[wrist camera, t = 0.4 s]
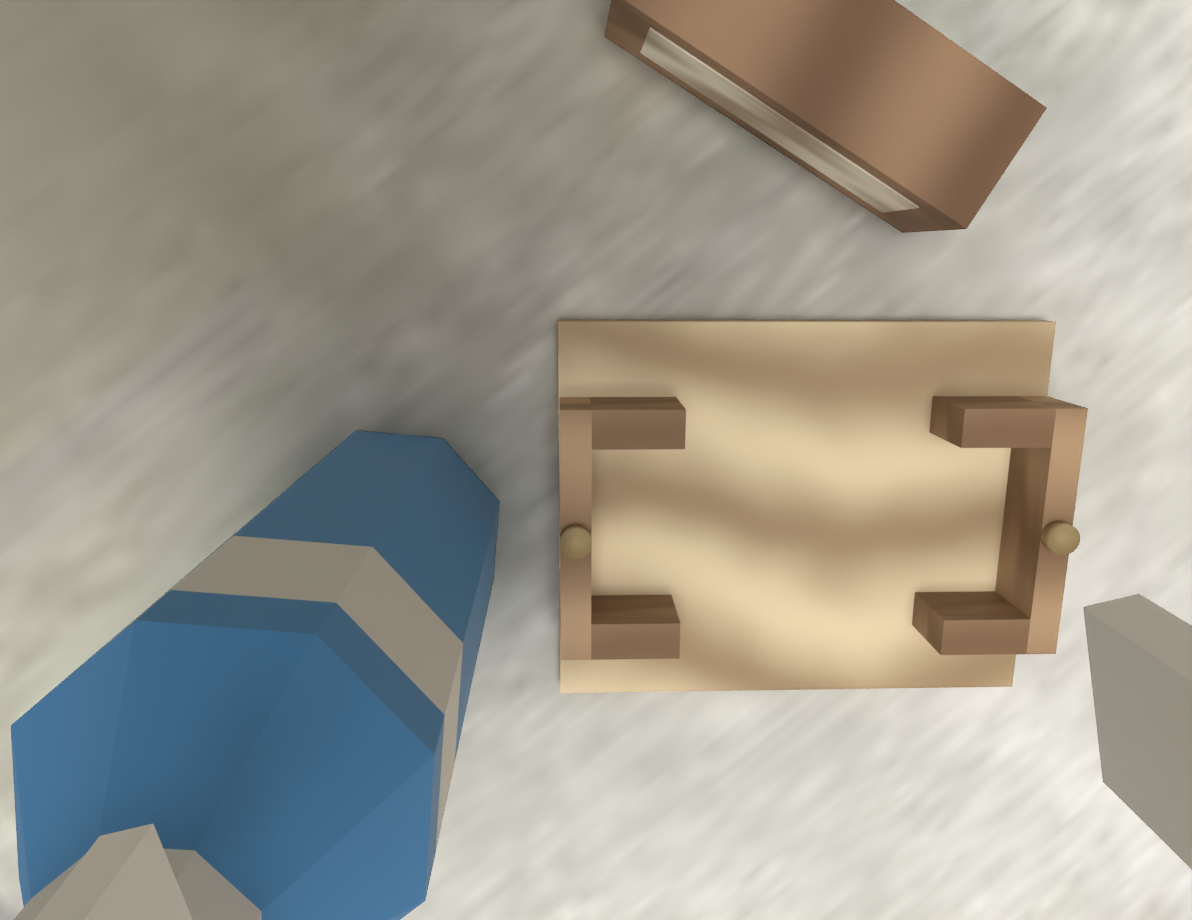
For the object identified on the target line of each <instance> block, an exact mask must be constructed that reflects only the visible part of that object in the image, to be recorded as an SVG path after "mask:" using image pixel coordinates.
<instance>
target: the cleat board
mask: <svg viewBox="0 0 1192 920" xmlns="http://www.w3.org/2000/svg"><path fill="white" fill-rule="evenodd" d="M1055 324H1056V322H1051V321H1044V320H558V419H559V571H560V693H590V692H660V691H730V690H800V689H870V688H940V687H1010V686H1012V682H1013V674H1014V666H1015V657H1016V654H1056V647H1057V639H1058V632H1059V624H1060V616H1061V609H1062V601H1063V594H1064V586H1065V578H1066V571H1067V563H1068V555H1069V553H1071V552H1073V551H1074V550H1075V549H1076V548H1077V546H1078V545H1079V542H1080V534H1079V532H1078V530H1077V529H1076V528H1074V527H1073V526H1072V525H1073V517H1074V510H1075V502H1076V495H1077V487H1078V479H1079V472H1080V464H1081V456H1082V449H1083V441H1084V434H1085V426H1086V418H1087V411H1088V408H1084V407H1081V406H1078V405H1074V404H1071V403H1067V402H1064V401H1061V400H1057V399H1054V398H1051V397H1047V391H1048V383H1049V374H1050V366H1051V358H1052V349H1053V341H1054V333H1055Z"/></svg>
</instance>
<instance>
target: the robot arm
mask: <svg viewBox="0 0 1192 920" xmlns="http://www.w3.org/2000/svg"><path fill="white" fill-rule="evenodd" d="M1083 608H1084V617H1085V626H1086V635H1087V643H1088V652H1089V661H1090V670H1091V679H1092V688H1093V697H1094V706H1095V715H1096V724H1097V733H1098V742H1099V751H1100V760H1101V769H1102V778H1103V782H1104V783H1105V784H1106V785H1107V786H1108V787H1109V788H1110V789H1111V790H1112V791H1113V792H1114V793H1115V794H1116V795H1117V796H1118V797H1119V798H1120V799H1121V800H1122V801H1123V802H1124V803H1125V804H1126V805H1127V806H1128V807H1129V808H1130V809H1131V810H1132V811H1133V812H1134V813H1135V814H1136V815H1137V816H1138V817H1139V818H1140V819H1141V820H1142V821H1143V822H1144V823H1145V824H1146V825H1147V826H1148V827H1150V828H1151V829H1152V830H1153V831H1154V832H1155V833H1156V834H1157V835H1158V836H1159V837H1160V838H1161V839H1162V840H1163V841H1164V842H1165V843H1166V844H1167V845H1168V846H1169V847H1170V848H1171V849H1172V850H1173V851H1174V852H1175V853H1176V854H1177V855H1178V856H1179V857H1180V858H1181V859H1182V860H1183V861H1184V862H1185V863H1186V864H1187V865H1188V866H1189V867H1190V868H1191V869H1192V626H1191V625H1190V624H1188V623H1186V622H1185V621H1183V620H1181V619H1180V618H1178V617H1176V616H1175V615H1173V614H1171V613H1170V612H1168V611H1166V610H1165V609H1163V608H1161V607H1160V606H1158V605H1156V604H1155V603H1153V602H1151V601H1150V600H1148V599H1146V598H1145V597H1143V596H1141V595H1140V594H1137V595H1133V596H1128V597H1124V598H1120V599H1115V600H1111V601H1107V602H1103V603H1098V604H1094V605H1090V606H1085V607H1083ZM34 920H193V919H192V917H191V915H190V912H189V910H188V907H187V905H186V902H185V900H184V897H183V895H182V893H181V890H180V888H179V885H178V883H177V880H176V878H175V875H174V873H173V871H172V868H171V866H170V863H169V861H168V858H167V856H166V854H165V851H164V849H163V846H162V844H161V841H160V839H159V836H158V834H157V832H156V829H155V827H154V824H149V825H144V826H140V827H136V828H131V829H127V830H123V831H119V832H114V833H110V834H106V835H101V836H100V837H99V838H98V839H97V840H96V842H95V843H94V844H93V845H92V847H91V848H90V849H89V851H88V852H87V853H86V854H85V856H84V857H83V858H82V859H81V861H80V862H79V863H78V865H77V866H76V867H75V868H74V870H73V871H72V872H71V873H70V875H69V876H68V877H67V878H66V880H65V881H64V882H63V884H62V885H61V886H60V887H59V889H58V890H57V891H56V892H55V894H54V895H53V896H52V898H51V899H50V900H49V901H48V903H47V904H46V905H45V906H44V908H43V909H42V910H41V912H40V913H39V914H38V915H37V917H36V918H35V919H34Z"/></svg>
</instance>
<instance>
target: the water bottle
mask: <svg viewBox="0 0 1192 920" xmlns="http://www.w3.org/2000/svg"><path fill="white" fill-rule="evenodd" d="M498 513H499V501H498V500H497V498H496V497H495V496H494V495H493V494H492V493H491V492H490V491H489V489H488V488H487V487H486V486H485V485H484V484H483V483H482V482H481V480H480V479H479V478H478V477H477V476H476V475H475V474H474V473H473V471H472V470H471V469H470V468H469V467H468V466H467V465H466V464H465V462H464V461H463V460H462V459H461V458H460V457H459V456H458V455H457V453H456V452H455V451H454V450H453V449H452V448H451V447H450V446H449V444H448V443H447V442H446V441H445V440H444V439H443V438H435V437H424V436H412V435H401V434H390V433H378V432H367V431H355V432H354V433H353V434H352V435H350V436H349V437H348V438H347V439H346V440H344V441H343V442H342V443H341V444H340V445H339V446H337V447H336V448H335V449H334V450H333V451H331V452H330V453H329V454H328V455H327V456H326V457H324V458H323V459H322V460H321V461H320V462H318V463H317V464H316V465H315V466H314V467H313V468H311V469H310V470H309V471H308V472H307V473H306V474H304V475H303V476H302V477H301V478H300V479H298V480H297V481H296V482H295V483H294V484H293V485H291V486H290V487H289V488H288V489H287V490H286V491H284V492H283V493H282V494H281V495H280V496H279V497H277V498H276V499H275V500H274V501H273V502H272V503H270V504H269V505H268V506H267V507H266V508H265V509H263V510H262V511H261V512H260V513H259V514H257V515H256V516H255V517H254V518H253V519H252V520H250V521H249V522H248V523H247V524H246V525H245V526H243V527H242V528H241V529H240V530H239V531H238V532H236V533H235V534H234V535H233V536H232V537H231V538H229V539H228V540H227V541H226V542H225V543H224V544H222V545H221V546H220V547H219V548H218V549H217V550H215V551H214V552H213V553H212V554H211V555H210V556H208V557H207V558H206V559H205V560H204V561H203V562H201V563H200V564H199V565H198V566H197V567H196V568H194V569H193V570H192V571H191V572H190V573H189V574H187V575H186V576H185V577H184V578H183V579H182V580H180V581H179V582H178V583H177V584H176V585H175V586H173V587H172V588H171V589H170V590H169V591H168V592H166V593H165V594H164V595H163V596H162V597H161V598H159V599H158V600H157V601H156V602H155V603H154V604H152V605H151V606H150V607H149V608H148V609H147V610H145V611H144V612H143V613H142V614H141V615H140V616H138V617H137V618H136V619H135V620H134V621H133V622H131V623H130V624H129V625H128V626H127V627H125V628H124V629H123V630H122V631H121V632H120V633H118V634H117V635H116V636H115V637H114V638H113V639H111V640H110V641H109V642H108V643H107V644H106V645H104V646H103V647H102V648H101V649H100V650H99V651H97V652H96V653H95V654H94V655H93V656H92V657H90V658H89V659H88V660H87V661H86V662H85V663H83V664H82V665H81V666H80V667H79V668H78V669H76V670H75V671H74V672H73V673H72V674H71V675H69V676H68V677H67V678H66V679H65V680H64V681H62V682H61V683H60V684H59V685H58V686H57V687H55V688H54V689H53V690H52V691H51V692H50V693H48V694H47V695H46V696H45V697H44V698H43V699H41V700H40V701H39V702H38V703H37V704H36V705H34V706H33V707H32V708H31V709H30V710H29V711H27V712H26V713H25V714H24V715H23V716H22V717H20V718H19V719H18V720H17V721H16V722H15V723H13V724H12V725H11V739H12V757H13V776H14V794H15V813H16V831H17V850H18V868H19V880H20V886H21V892H22V898H23V905H24V908H23V909H22V910H21V912H20V913H19V914H18V915H17V916H16V918H15V919H14V920H34V919H35V918H36V917H37V915H38V914H39V913H40V912H41V910H42V909H43V908H44V906H45V905H46V904H47V903H48V901H49V900H50V899H51V898H52V896H53V895H54V894H55V892H56V891H57V890H58V889H59V887H60V886H61V885H62V884H63V882H64V881H65V880H66V878H67V877H68V876H69V875H70V873H71V872H72V871H73V870H74V868H75V867H76V866H77V865H78V863H79V862H80V861H81V859H82V858H83V857H84V856H85V854H86V853H87V852H88V851H89V849H90V848H91V847H92V845H93V844H94V843H95V842H96V840H97V839H98V838H99V837H100V836H101V835H106V834H110V833H114V832H119V831H123V830H127V829H131V828H136V827H140V826H144V825H149V824H154V827H155V829H156V832H157V834H158V836H159V839H160V841H161V844H162V846H163V849H164V851H165V854H166V856H167V858H168V861H169V863H170V866H171V868H172V871H173V873H174V875H175V878H176V880H177V883H178V885H179V888H180V890H181V893H182V895H183V897H184V900H185V902H186V905H187V907H188V910H189V912H190V915H191V917H192V919H193V920H400V919H401V918H403V917H404V916H405V915H407V914H408V913H409V912H411V911H412V910H413V909H415V908H416V907H417V906H419V905H420V904H421V903H423V902H424V901H425V899H426V894H427V890H428V885H429V880H430V876H431V871H432V866H433V861H434V857H435V852H436V847H437V843H438V838H439V833H440V829H441V824H442V819H443V815H444V810H445V805H446V800H447V796H448V791H449V786H450V782H451V777H452V772H453V768H454V763H455V758H456V754H457V749H458V744H459V739H460V735H461V730H462V725H463V721H464V716H465V711H466V707H467V702H468V697H469V692H470V688H471V683H472V678H473V674H474V669H475V664H476V660H477V655H478V650H479V646H480V641H481V636H482V631H483V627H484V622H485V617H486V613H487V608H488V603H489V599H490V594H491V589H492V585H493V578H494V565H495V552H496V539H497V526H498Z"/></svg>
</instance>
